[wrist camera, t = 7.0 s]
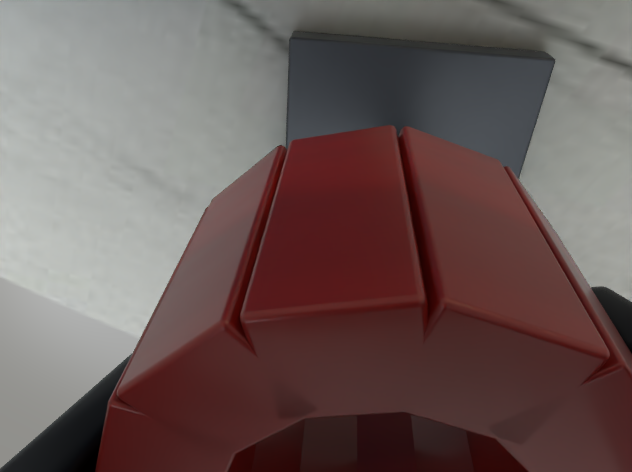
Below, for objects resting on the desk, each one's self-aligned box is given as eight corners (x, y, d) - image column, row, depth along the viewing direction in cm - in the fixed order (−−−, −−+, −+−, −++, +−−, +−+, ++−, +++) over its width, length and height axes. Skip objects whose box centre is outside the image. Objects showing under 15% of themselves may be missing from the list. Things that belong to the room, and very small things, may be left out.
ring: (625, 145, 7) (852, 343, 4) (500, 430, 11) (565, 662, 8) (175, 102, 7) (26, 259, 4) (198, 398, 11) (129, 613, 8)
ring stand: (546, 51, 16) (633, 117, 11) (483, 258, 20) (526, 374, 15) (292, 30, 16) (263, 85, 11) (285, 240, 20) (261, 348, 15)
